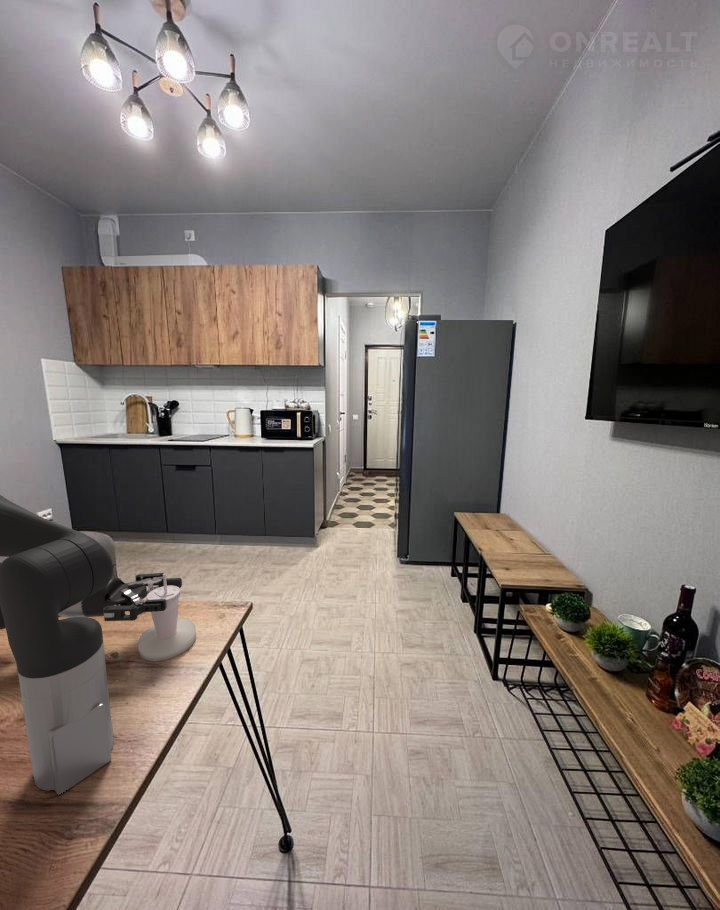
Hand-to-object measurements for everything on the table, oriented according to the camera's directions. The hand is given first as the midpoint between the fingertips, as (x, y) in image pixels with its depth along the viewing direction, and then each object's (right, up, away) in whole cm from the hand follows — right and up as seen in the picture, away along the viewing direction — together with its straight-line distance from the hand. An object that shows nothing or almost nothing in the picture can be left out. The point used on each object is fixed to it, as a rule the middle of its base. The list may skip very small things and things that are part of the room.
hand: (174, 593), depth 76 cm
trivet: (-2, -11, +2) cm, 12 cm away
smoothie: (-2, -10, +1) cm, 10 cm away
